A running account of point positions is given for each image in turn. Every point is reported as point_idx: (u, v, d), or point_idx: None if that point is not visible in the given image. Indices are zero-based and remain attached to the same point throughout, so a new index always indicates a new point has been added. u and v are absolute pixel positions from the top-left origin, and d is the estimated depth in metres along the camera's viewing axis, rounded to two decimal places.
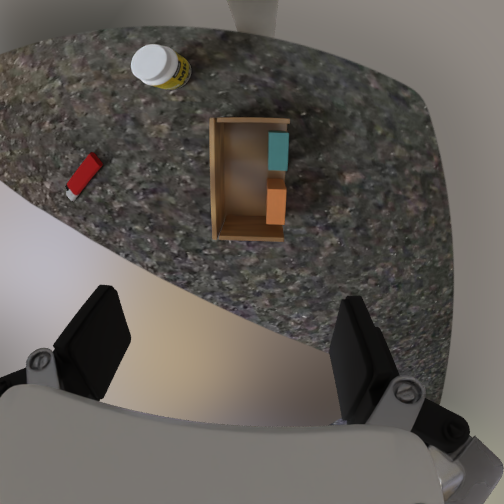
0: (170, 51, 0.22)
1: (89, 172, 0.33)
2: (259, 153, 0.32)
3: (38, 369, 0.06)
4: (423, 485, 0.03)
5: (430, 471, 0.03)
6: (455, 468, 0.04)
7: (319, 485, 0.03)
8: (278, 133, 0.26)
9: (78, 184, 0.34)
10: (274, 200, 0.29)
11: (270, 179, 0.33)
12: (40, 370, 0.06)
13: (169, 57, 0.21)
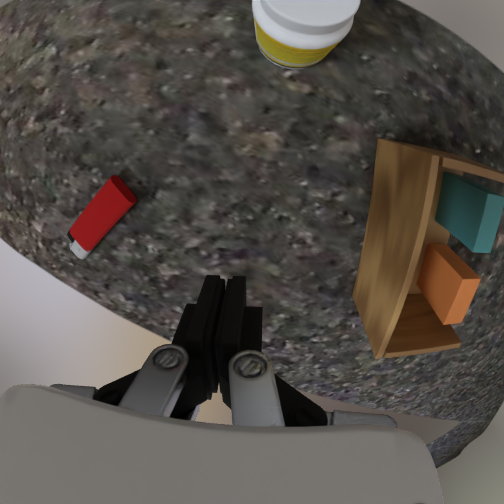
0: None
1: (111, 214, 0.19)
2: None
3: (160, 366, 0.07)
4: (423, 485, 0.03)
5: (430, 471, 0.03)
6: None
7: (319, 485, 0.03)
8: (495, 196, 0.12)
9: (91, 233, 0.20)
10: (464, 294, 0.15)
11: (435, 246, 0.19)
12: (161, 369, 0.07)
13: None
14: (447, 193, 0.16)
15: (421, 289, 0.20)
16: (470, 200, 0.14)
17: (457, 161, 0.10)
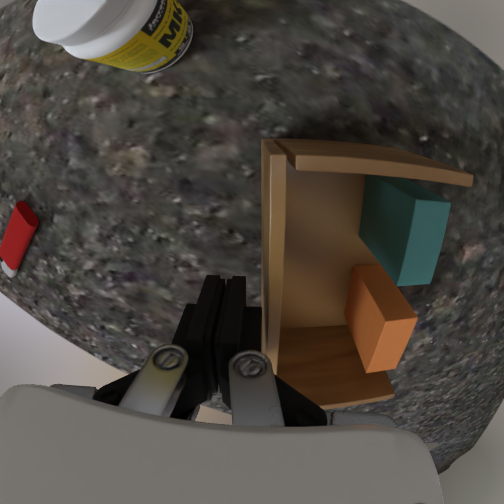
0: None
1: (20, 237, 0.17)
2: (343, 219, 0.16)
3: (161, 366, 0.07)
4: (423, 485, 0.03)
5: (430, 471, 0.03)
6: None
7: (319, 485, 0.03)
8: (432, 202, 0.09)
9: (11, 255, 0.17)
10: (392, 338, 0.13)
11: (362, 270, 0.16)
12: (161, 369, 0.07)
13: None
14: (370, 200, 0.14)
15: (347, 322, 0.18)
16: (394, 210, 0.11)
17: (327, 157, 0.08)
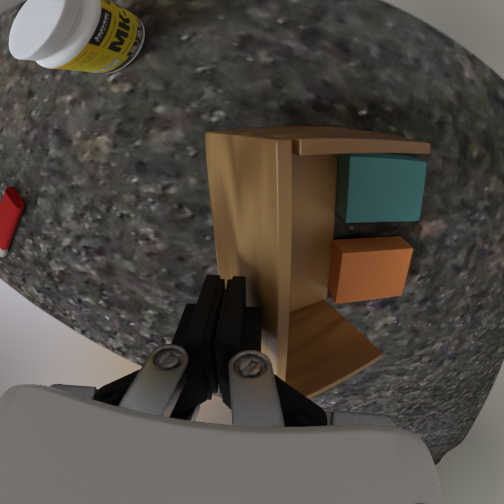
0: None
1: (9, 218, 0.18)
2: (293, 203, 0.16)
3: (160, 366, 0.07)
4: (423, 485, 0.03)
5: (430, 471, 0.03)
6: None
7: (319, 485, 0.03)
8: (418, 160, 0.15)
9: (2, 235, 0.19)
10: None
11: (349, 249, 0.17)
12: (161, 369, 0.07)
13: (75, 1, 0.06)
14: (365, 181, 0.15)
15: (349, 300, 0.19)
16: (406, 176, 0.14)
17: (327, 140, 0.07)
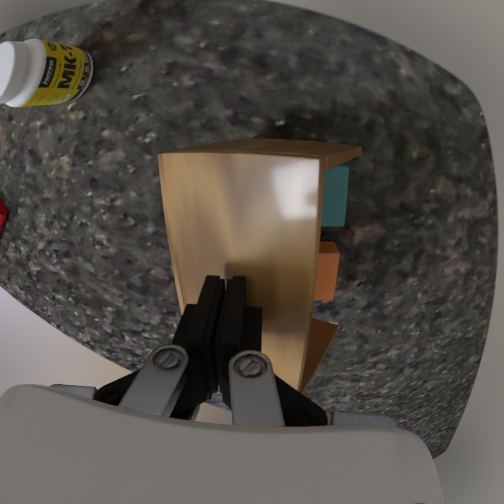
0: (34, 45, 0.09)
1: None
2: None
3: (160, 366, 0.07)
4: (423, 485, 0.03)
5: (430, 471, 0.03)
6: None
7: (319, 485, 0.03)
8: (343, 165, 0.17)
9: None
10: None
11: None
12: (161, 369, 0.07)
13: (23, 56, 0.08)
14: None
15: None
16: (324, 182, 0.16)
17: (334, 155, 0.09)
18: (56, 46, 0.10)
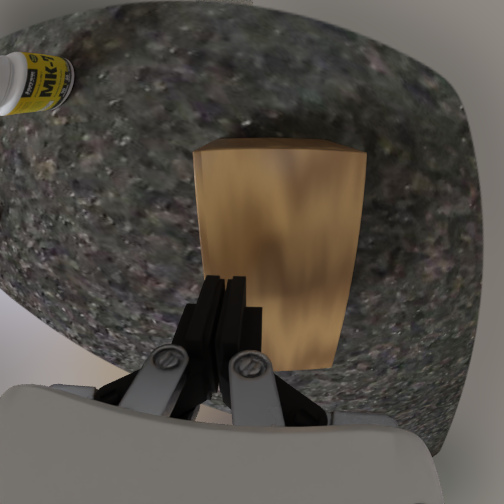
0: (17, 58, 0.09)
1: None
2: None
3: (160, 366, 0.07)
4: (423, 485, 0.03)
5: (430, 471, 0.03)
6: None
7: (319, 485, 0.03)
8: None
9: None
10: None
11: None
12: (161, 369, 0.07)
13: (6, 70, 0.08)
14: None
15: None
16: None
17: None
18: (37, 58, 0.11)
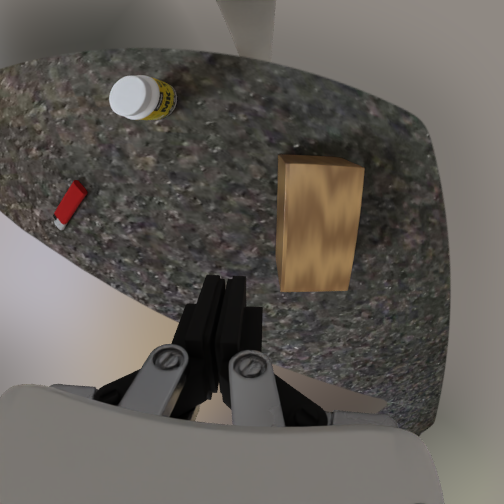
0: (151, 82, 0.21)
1: (74, 201, 0.32)
2: None
3: (160, 366, 0.07)
4: (423, 485, 0.03)
5: (430, 471, 0.03)
6: None
7: (319, 485, 0.03)
8: None
9: (65, 213, 0.33)
10: None
11: None
12: (161, 369, 0.07)
13: (149, 90, 0.21)
14: None
15: None
16: None
17: (358, 165, 0.25)
18: (161, 83, 0.23)
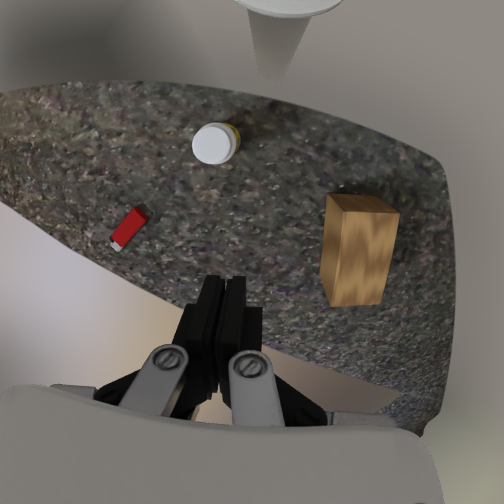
0: (229, 131, 0.28)
1: (135, 226, 0.39)
2: None
3: (160, 366, 0.07)
4: (423, 485, 0.03)
5: (430, 471, 0.03)
6: None
7: (319, 485, 0.03)
8: None
9: (124, 237, 0.40)
10: None
11: None
12: (161, 369, 0.07)
13: (231, 142, 0.27)
14: None
15: None
16: None
17: (393, 209, 0.31)
18: (234, 131, 0.29)
